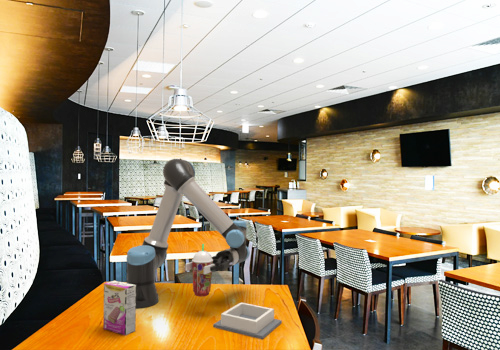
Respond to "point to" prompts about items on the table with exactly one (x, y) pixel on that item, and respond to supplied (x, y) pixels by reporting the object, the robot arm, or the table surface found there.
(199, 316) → the table surface
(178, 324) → the table surface
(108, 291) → the candy bar box
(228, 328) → the board
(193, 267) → the smoothie
